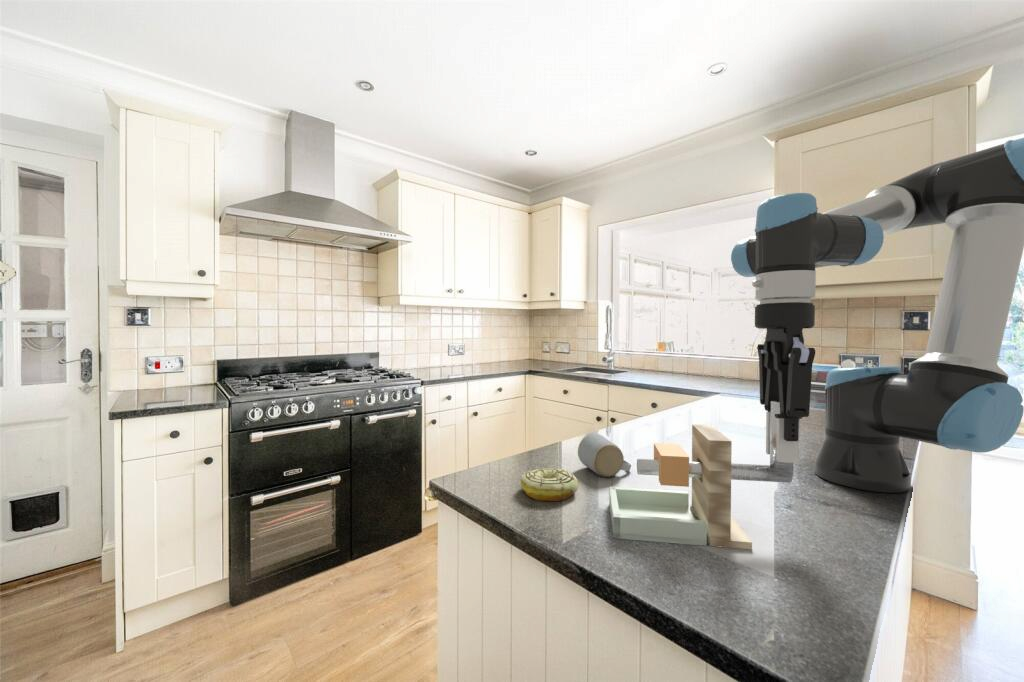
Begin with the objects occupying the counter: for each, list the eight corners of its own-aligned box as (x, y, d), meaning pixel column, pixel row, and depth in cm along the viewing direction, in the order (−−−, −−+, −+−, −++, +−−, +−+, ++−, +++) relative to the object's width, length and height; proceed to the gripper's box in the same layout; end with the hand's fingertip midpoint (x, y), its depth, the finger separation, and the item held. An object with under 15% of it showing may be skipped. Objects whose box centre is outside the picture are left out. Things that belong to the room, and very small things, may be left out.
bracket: (724, 512, 70) (725, 424, 70) (751, 549, 59) (753, 443, 58) (690, 509, 71) (690, 423, 71) (710, 546, 60) (711, 442, 59)
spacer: (678, 470, 69) (679, 444, 69) (688, 486, 62) (689, 457, 62) (653, 469, 70) (653, 443, 70) (660, 485, 63) (661, 455, 63)
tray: (687, 509, 72) (687, 491, 71) (706, 545, 60) (706, 523, 60) (609, 504, 74) (609, 486, 74) (613, 538, 62) (613, 516, 62)
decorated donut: (588, 498, 77) (588, 478, 77) (536, 508, 73) (536, 487, 73) (560, 479, 87) (560, 461, 87) (513, 487, 82) (512, 468, 82)
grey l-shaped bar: (787, 478, 64) (788, 400, 64) (797, 486, 62) (798, 403, 61) (636, 470, 69) (636, 396, 68) (638, 477, 66) (639, 400, 65)
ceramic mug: (595, 480, 85) (596, 443, 85) (576, 468, 93) (577, 434, 93) (639, 475, 89) (640, 439, 88) (618, 463, 96) (618, 430, 96)
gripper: (738, 305, 71) (736, 442, 72) (780, 299, 55) (777, 474, 56) (786, 304, 70) (784, 444, 70) (844, 298, 54) (841, 478, 55)
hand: (781, 457), depth 63 cm, fingers closed on grey l-shaped bar, 3 cm apart
